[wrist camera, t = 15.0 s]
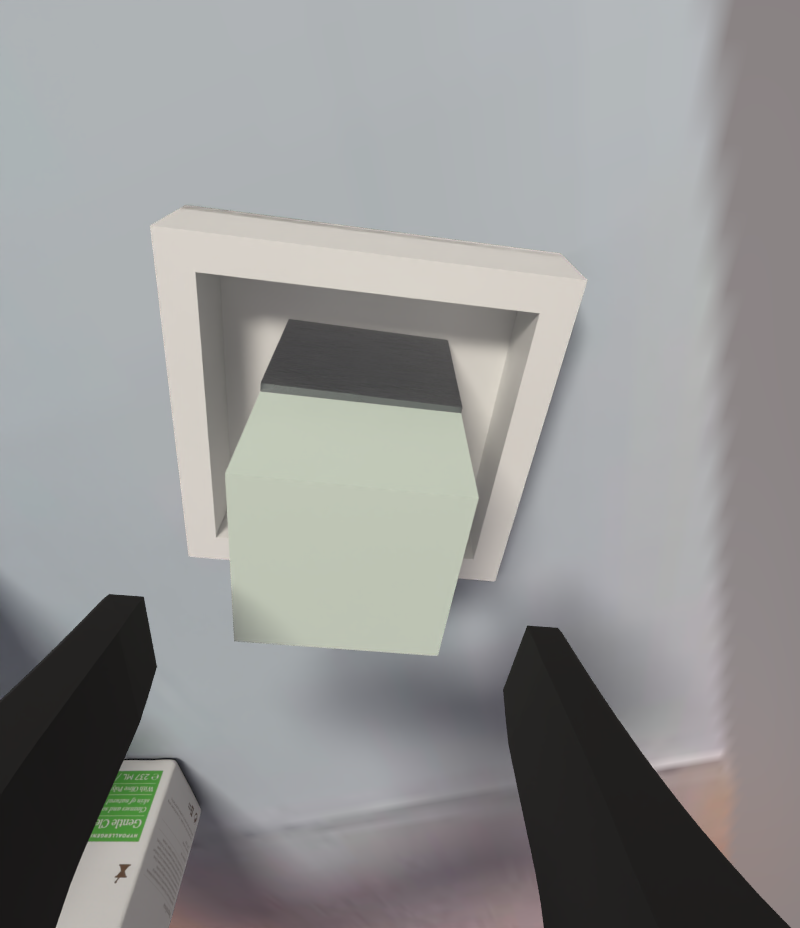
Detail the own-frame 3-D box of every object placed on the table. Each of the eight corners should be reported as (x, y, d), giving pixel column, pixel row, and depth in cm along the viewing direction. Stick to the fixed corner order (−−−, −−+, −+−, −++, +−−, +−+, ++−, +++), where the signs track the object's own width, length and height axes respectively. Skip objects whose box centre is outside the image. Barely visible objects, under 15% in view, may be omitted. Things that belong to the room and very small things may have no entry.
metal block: (422, 468, 21) (428, 554, 17) (284, 453, 20) (259, 537, 16) (447, 339, 18) (462, 407, 14) (288, 318, 17) (260, 383, 14)
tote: (484, 531, 23) (495, 581, 21) (210, 507, 22) (188, 556, 20) (560, 253, 17) (587, 280, 14) (185, 204, 16) (149, 225, 14)
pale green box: (429, 557, 17) (437, 655, 14) (262, 543, 17) (234, 641, 14) (461, 413, 14) (478, 497, 11) (260, 391, 14) (224, 473, 11)
